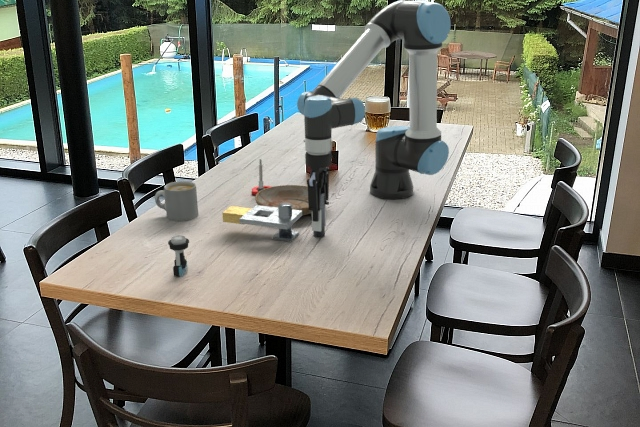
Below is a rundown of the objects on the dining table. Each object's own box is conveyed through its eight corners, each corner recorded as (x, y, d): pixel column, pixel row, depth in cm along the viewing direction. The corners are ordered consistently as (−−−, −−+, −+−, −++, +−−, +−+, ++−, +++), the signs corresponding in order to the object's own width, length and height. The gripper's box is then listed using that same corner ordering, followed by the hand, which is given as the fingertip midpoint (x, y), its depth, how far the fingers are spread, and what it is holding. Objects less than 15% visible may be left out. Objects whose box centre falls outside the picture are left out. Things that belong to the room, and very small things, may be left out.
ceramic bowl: (273, 228, 211) (272, 212, 209) (245, 205, 230) (244, 190, 229) (339, 215, 221) (339, 200, 219) (307, 194, 240) (306, 180, 239)
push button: (177, 265, 186) (174, 231, 182) (196, 267, 185) (193, 232, 181) (168, 276, 179) (164, 241, 176) (187, 278, 179) (184, 242, 175)
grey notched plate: (302, 230, 208) (301, 199, 205) (287, 245, 198) (286, 213, 194) (236, 222, 215) (235, 192, 212) (219, 236, 205) (217, 204, 201)
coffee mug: (203, 211, 224) (201, 182, 221) (189, 222, 216) (186, 192, 212) (167, 207, 228) (164, 179, 225) (151, 218, 219) (148, 188, 216)
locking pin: (326, 234, 206) (326, 192, 201) (322, 238, 203) (322, 196, 198) (315, 232, 207) (315, 191, 202) (311, 236, 204) (311, 195, 199)
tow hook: (255, 188, 248) (248, 195, 239) (254, 153, 244) (247, 159, 235) (278, 189, 247) (272, 196, 238) (277, 154, 243) (272, 160, 234)
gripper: (315, 143, 204) (316, 217, 212) (295, 158, 190) (297, 236, 198) (339, 145, 202) (339, 220, 210) (321, 160, 187) (321, 240, 196)
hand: (319, 227), depth 204 cm, fingers closed on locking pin, 3 cm apart
